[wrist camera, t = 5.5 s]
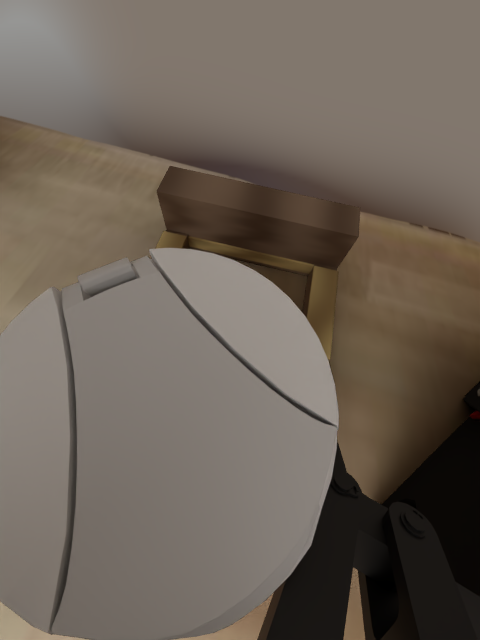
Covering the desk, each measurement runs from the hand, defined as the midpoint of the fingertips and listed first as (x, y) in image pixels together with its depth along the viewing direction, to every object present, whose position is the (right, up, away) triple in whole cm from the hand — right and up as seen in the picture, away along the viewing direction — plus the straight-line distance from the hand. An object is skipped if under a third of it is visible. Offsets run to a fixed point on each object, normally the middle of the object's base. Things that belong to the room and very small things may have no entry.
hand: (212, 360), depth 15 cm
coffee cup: (-1, -5, +4) cm, 7 cm away
